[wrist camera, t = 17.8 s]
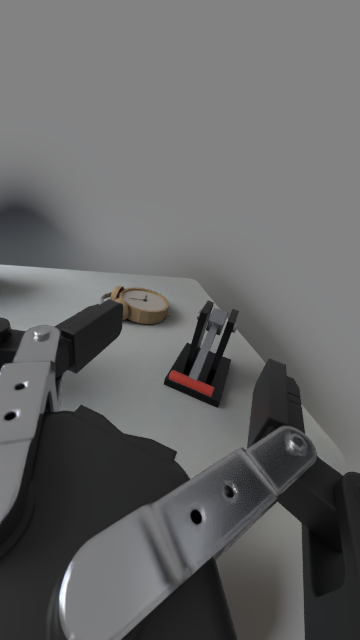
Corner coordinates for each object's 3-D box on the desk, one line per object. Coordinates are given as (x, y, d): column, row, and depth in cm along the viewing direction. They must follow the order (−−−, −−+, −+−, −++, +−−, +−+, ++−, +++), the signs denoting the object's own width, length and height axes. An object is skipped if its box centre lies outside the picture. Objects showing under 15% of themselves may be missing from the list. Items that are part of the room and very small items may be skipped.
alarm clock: (175, 314, 50) (104, 301, 44) (168, 332, 53) (99, 322, 46) (163, 291, 59) (103, 277, 53) (157, 307, 61) (98, 296, 55)
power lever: (209, 400, 28) (213, 392, 26) (168, 382, 29) (168, 373, 27) (234, 326, 36) (238, 316, 34) (201, 314, 37) (204, 304, 36)
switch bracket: (217, 407, 35) (246, 341, 29) (163, 384, 37) (179, 316, 30) (229, 364, 44) (253, 306, 38) (185, 347, 46) (201, 289, 40)
